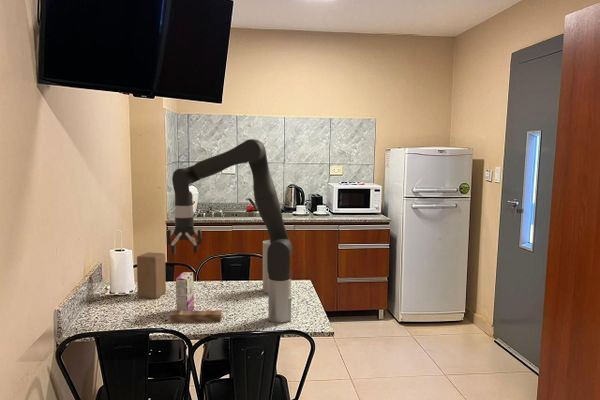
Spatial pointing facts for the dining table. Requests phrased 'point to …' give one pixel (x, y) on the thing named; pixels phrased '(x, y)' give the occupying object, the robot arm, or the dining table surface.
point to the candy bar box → (185, 292)
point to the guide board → (196, 316)
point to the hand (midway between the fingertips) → (184, 254)
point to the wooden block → (151, 275)
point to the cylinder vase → (265, 267)
